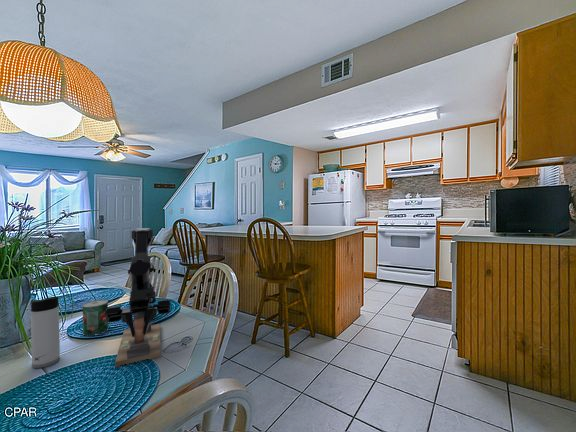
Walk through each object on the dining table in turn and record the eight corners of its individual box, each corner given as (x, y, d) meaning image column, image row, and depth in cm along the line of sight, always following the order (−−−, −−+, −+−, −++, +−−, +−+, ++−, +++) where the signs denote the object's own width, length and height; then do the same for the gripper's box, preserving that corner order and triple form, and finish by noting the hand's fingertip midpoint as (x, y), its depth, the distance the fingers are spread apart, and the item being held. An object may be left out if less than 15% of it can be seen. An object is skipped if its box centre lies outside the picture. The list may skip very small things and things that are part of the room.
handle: (131, 345, 86) (130, 312, 86) (148, 341, 88) (148, 309, 88) (129, 352, 81) (129, 318, 81) (148, 348, 84) (147, 315, 83)
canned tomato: (111, 331, 102) (110, 302, 101) (85, 338, 96) (85, 308, 96) (105, 325, 107) (104, 298, 107) (80, 331, 101) (80, 303, 101)
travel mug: (36, 371, 76) (34, 302, 76) (29, 364, 79) (27, 298, 79) (63, 360, 81) (62, 296, 81) (55, 354, 85) (54, 292, 84)
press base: (124, 333, 99) (124, 323, 99) (159, 327, 104) (159, 317, 104) (115, 367, 78) (115, 354, 78) (160, 356, 83) (160, 344, 83)
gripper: (105, 282, 84) (99, 331, 74) (169, 275, 92) (171, 318, 82) (109, 299, 91) (104, 346, 81) (169, 292, 99) (171, 333, 90)
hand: (138, 335), depth 83 cm, fingers closed on handle, 3 cm apart
